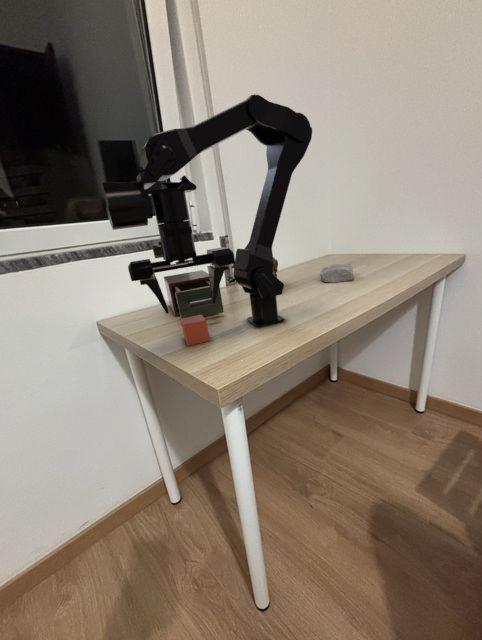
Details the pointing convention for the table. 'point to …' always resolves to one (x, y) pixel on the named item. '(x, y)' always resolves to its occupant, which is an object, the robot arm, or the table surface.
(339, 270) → the stone block
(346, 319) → the table surface
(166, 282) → the cabinet
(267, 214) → the robot arm
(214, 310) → the drawer
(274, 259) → the wooden carving
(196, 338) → the block
